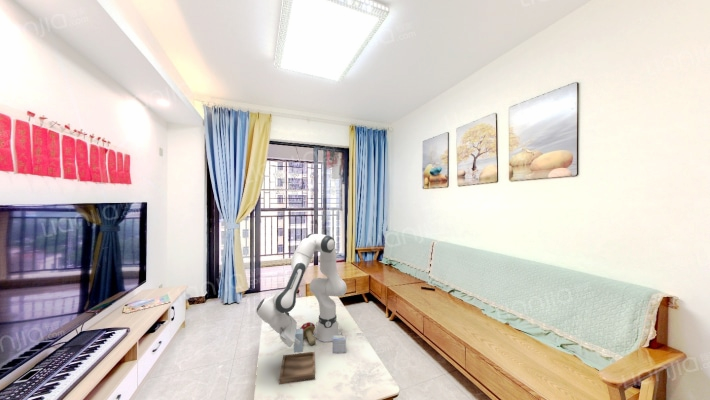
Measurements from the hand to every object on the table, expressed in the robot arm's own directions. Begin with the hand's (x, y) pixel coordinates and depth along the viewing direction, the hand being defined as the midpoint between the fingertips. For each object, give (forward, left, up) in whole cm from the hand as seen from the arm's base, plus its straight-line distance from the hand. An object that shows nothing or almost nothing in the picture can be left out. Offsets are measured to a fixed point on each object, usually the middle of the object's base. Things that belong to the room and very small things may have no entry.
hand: (299, 339), depth 128 cm
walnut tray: (0, -1, -16) cm, 16 cm away
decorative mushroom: (-25, +4, -17) cm, 30 cm away
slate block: (0, -1, -5) cm, 5 cm away
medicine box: (-11, +23, -17) cm, 31 cm away
